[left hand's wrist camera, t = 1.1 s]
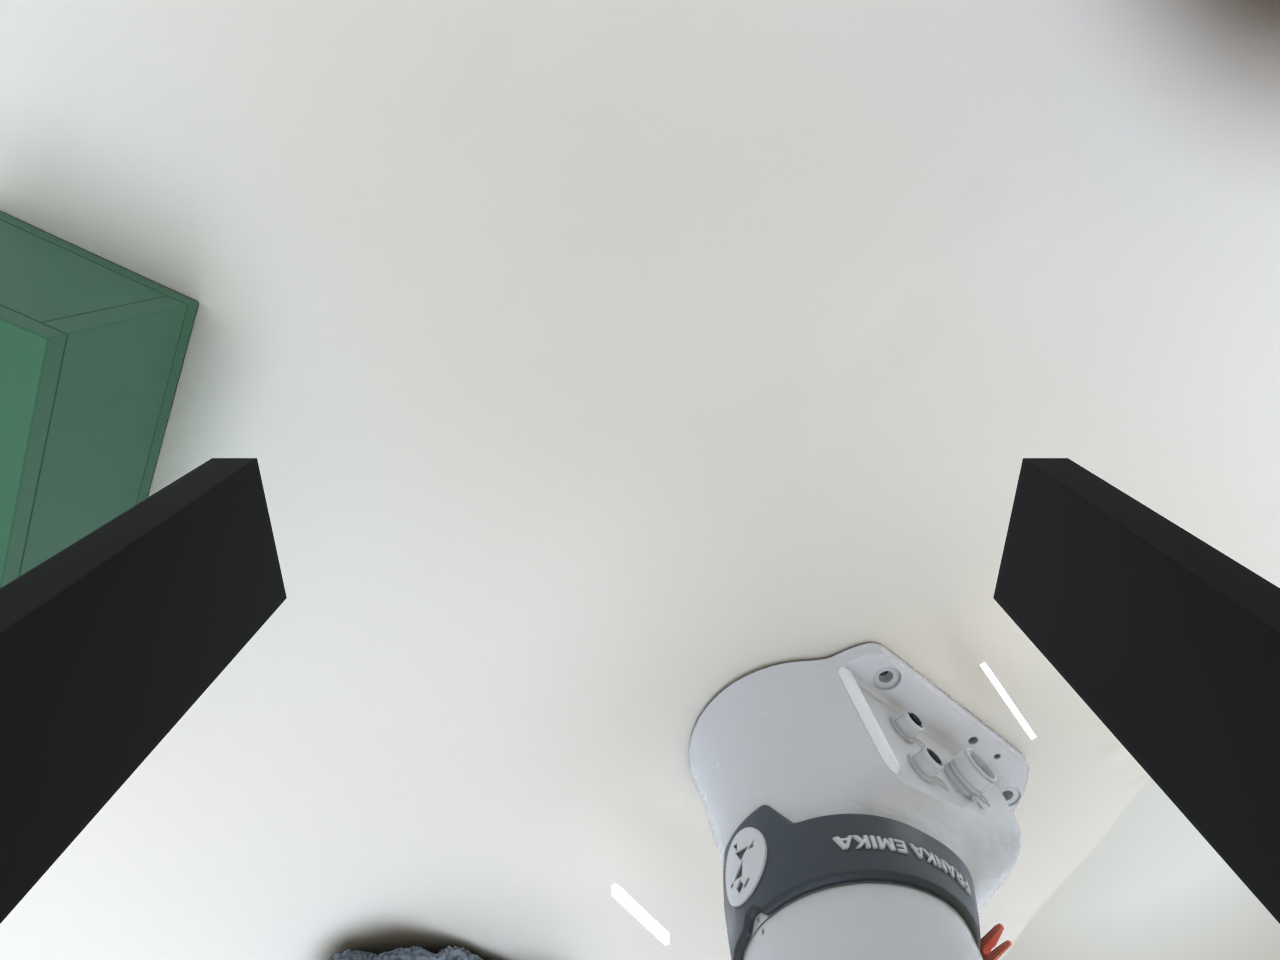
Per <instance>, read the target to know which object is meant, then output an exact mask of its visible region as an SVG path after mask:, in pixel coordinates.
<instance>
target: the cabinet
mask: <svg viewBox="0 0 1280 960" xmlns="http://www.w3.org/2000/svg"><path fill="white" fill-rule="evenodd" d="M197 307H198V302H197V301H195V300H192V299H190V298H188V297H186V296H184V295H181V294H179V293H177V292H175V291H173V290H171V289H168V288H166V287H164V286H162V285H160V284H157V283H155V282H153V281H151V280H149V279H147V278H144V277H142V276H140V275H138V274H136V273H134V272H131V271H129V270H127V269H125V268H123V267H120V266H118V265H116V264H114V263H112V262H110V261H107V260H105V259H103V258H101V257H99V256H96V255H94V254H92V253H90V252H88V251H86V250H83V249H81V248H79V247H77V246H75V245H72V244H70V243H68V242H66V241H64V240H62V239H59V238H57V237H55V236H53V235H51V234H48V233H46V232H44V231H42V230H40V229H38V228H35V227H33V226H31V225H29V224H27V223H24V222H22V221H20V220H18V219H16V218H14V217H11V216H9V215H7V214H5V213H3V212H0V588H2V587H3V586H5V585H7V584H8V583H10V582H12V581H13V580H15V579H16V578H18V577H20V576H21V575H23V574H25V573H26V572H28V571H29V570H31V569H33V568H34V567H36V566H38V565H39V564H41V563H42V562H44V561H46V560H47V559H49V558H51V557H52V556H54V555H56V554H57V553H59V552H60V551H62V550H64V549H65V548H67V547H69V546H70V545H72V544H73V543H75V542H77V541H78V540H80V539H82V538H83V537H85V536H86V535H88V534H90V533H91V532H93V531H95V530H96V529H98V528H100V527H101V526H103V525H104V524H106V523H108V522H109V521H111V520H113V519H114V518H116V517H117V516H119V515H121V514H122V513H124V512H126V511H127V510H129V509H130V508H132V507H134V506H135V505H137V504H139V503H140V502H142V501H144V500H145V499H147V496H148V492H149V489H150V485H151V481H152V477H153V473H154V470H155V466H156V462H157V458H158V455H159V451H160V447H161V443H162V439H163V436H164V432H165V428H166V424H167V420H168V417H169V413H170V409H171V405H172V402H173V398H174V394H175V390H176V386H177V383H178V379H179V375H180V371H181V368H182V364H183V360H184V356H185V352H186V349H187V345H188V341H189V337H190V333H191V330H192V326H193V322H194V318H195V315H196V311H197Z"/></svg>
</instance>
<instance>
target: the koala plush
mask: <svg viewBox="0 0 1280 960" xmlns="http://www.w3.org/2000/svg"><path fill="white" fill-rule="evenodd" d="M328 960H483V959H482V958H480V957H479V956H478V955H475V954H472V953H471V952H470V951H469V950H465V948H464V947H462V948H460V947H457V946H454V947H453V948H452V947H451V946H447V948H444V950H443V949H441V951H439V952H438V954H434V953H431V952H430V951H427V950H425V949H423V948H422V947H418V946H412V947H409V948H408V947H407V948H405V949H404V948H402V947H400V948H396V949H395V950H392V951H389V952H386V951H385V952H383V953H380V954H379V955H378V954H376V953H375V954H374V953H373V952H368V951H367V952H365V951H362V952H361V951H360V950H358V951H356V950H354V951H353V952H352V951H351V949H347V950H345V951H344V952H343V953H334V954H333V956H332V957H331V958H330V959H328Z"/></svg>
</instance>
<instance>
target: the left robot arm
mask: <svg viewBox="0 0 1280 960" xmlns="http://www.w3.org/2000/svg"><path fill="white" fill-rule="evenodd" d="M285 599H286V593H285V588H284V584H283V579H282V574H281V570H280V565H279V560H278V555H277V551H276V546H275V541H274V537H273V532H272V527H271V522H270V518H269V513H268V508H267V504H266V499H265V494H264V490H263V485H262V480H261V475H260V471H259V466H258V461H257V458H212V459H210V460H209V461H207V462H205V463H204V464H202V465H201V466H199V467H197V468H196V469H194V470H192V471H191V472H189V473H188V474H186V475H184V476H183V477H181V478H179V479H178V480H176V481H174V482H173V483H171V484H170V485H168V486H166V487H165V488H163V489H161V490H160V491H158V492H157V493H155V494H153V495H152V496H150V497H148V498H147V499H145V500H144V501H142V502H140V503H139V504H137V505H135V506H134V507H132V508H130V509H129V510H127V511H126V512H124V513H122V514H121V515H119V516H117V517H116V518H114V519H113V520H111V521H109V522H108V523H106V524H104V525H103V526H101V527H100V528H98V529H96V530H95V531H93V532H91V533H90V534H88V535H86V536H85V537H83V538H82V539H80V540H78V541H77V542H75V543H73V544H72V545H70V546H69V547H67V548H65V549H64V550H62V551H60V552H59V553H57V554H56V555H54V556H52V557H51V558H49V559H47V560H46V561H44V562H42V563H41V564H39V565H38V566H36V567H34V568H33V569H31V570H29V571H28V572H26V573H25V574H23V575H21V576H20V577H18V578H16V579H15V580H13V581H12V582H10V583H8V584H7V585H5V586H3V587H2V588H0V923H1V922H2V921H3V920H4V919H5V918H6V917H7V915H8V914H9V913H10V912H11V911H12V910H13V909H14V907H15V906H16V905H17V904H18V903H19V902H20V901H21V899H22V898H23V897H24V896H25V895H26V894H27V893H28V891H29V890H30V889H31V888H32V887H33V886H34V885H35V884H36V882H37V881H38V880H39V879H40V878H41V877H42V876H43V874H44V873H45V872H46V871H47V870H48V869H49V868H50V866H51V865H52V864H53V863H54V862H55V861H56V860H57V858H58V857H59V856H60V855H61V854H62V853H63V852H64V851H65V849H66V848H67V847H68V846H69V845H70V844H71V843H72V841H73V840H74V839H75V838H76V837H77V836H78V835H79V833H80V832H81V831H82V830H83V829H84V828H85V827H86V826H87V824H88V823H89V822H90V821H91V820H92V819H93V818H94V816H95V815H96V814H97V813H98V812H99V811H100V810H101V808H102V807H103V806H104V805H105V804H106V803H107V802H108V800H109V799H110V798H111V797H112V796H113V795H114V794H115V793H116V791H117V790H118V789H119V788H120V787H121V786H122V785H123V783H124V782H125V781H126V780H127V779H128V778H129V777H130V775H131V774H132V773H133V772H134V771H135V770H136V769H137V767H138V766H139V765H140V764H141V763H142V762H143V761H144V760H145V758H146V757H147V756H148V755H149V754H150V753H151V752H152V750H153V749H154V748H155V747H156V746H157V745H158V744H159V742H160V741H161V740H162V739H163V738H164V737H165V736H166V734H167V733H168V732H169V731H170V730H171V729H172V728H173V727H174V725H175V724H176V723H177V722H178V721H179V720H180V719H181V717H182V716H183V715H184V714H185V713H186V712H187V711H188V709H189V708H190V707H191V706H192V705H193V704H194V703H195V702H196V700H197V699H198V698H199V697H200V696H201V695H202V694H203V692H204V691H205V690H206V689H207V688H208V687H209V686H210V684H211V683H212V682H213V681H214V680H215V679H216V678H217V676H218V675H219V674H220V673H221V672H222V671H223V670H224V669H225V667H226V666H227V665H228V664H229V663H230V662H231V661H232V659H233V658H234V657H235V656H236V655H237V654H238V653H239V651H240V650H241V649H242V648H243V647H244V646H245V645H246V643H247V642H248V641H249V640H250V639H251V638H252V637H253V636H254V634H255V633H256V632H257V631H258V630H259V629H260V628H261V626H262V625H263V624H264V623H265V622H266V621H267V620H268V618H269V617H270V616H271V615H272V614H273V613H274V612H275V611H276V609H277V608H278V607H279V606H280V605H281V604H282V603H283V601H284V600H285ZM994 599H995V600H996V601H997V603H998V604H999V605H1000V606H1001V607H1002V608H1003V609H1004V611H1005V612H1006V613H1007V614H1008V615H1009V616H1010V617H1011V618H1012V620H1013V621H1014V622H1015V623H1016V624H1017V625H1018V626H1019V628H1020V629H1021V630H1022V631H1023V632H1024V633H1025V634H1026V636H1027V637H1028V638H1029V639H1030V640H1031V641H1032V642H1033V643H1034V645H1035V646H1036V647H1037V648H1038V649H1039V650H1040V651H1041V653H1042V654H1043V655H1044V656H1045V657H1046V658H1047V659H1048V661H1049V662H1050V663H1051V664H1052V665H1053V666H1054V667H1055V669H1056V670H1057V671H1058V672H1059V673H1060V674H1061V675H1062V676H1063V678H1064V679H1065V680H1066V681H1067V682H1068V683H1069V684H1070V686H1071V687H1072V688H1073V689H1074V690H1075V691H1076V692H1077V694H1078V695H1079V696H1080V697H1081V698H1082V699H1083V700H1084V702H1085V703H1086V704H1087V705H1088V706H1089V707H1090V708H1091V709H1092V711H1093V712H1094V713H1095V714H1096V715H1097V716H1098V717H1099V719H1100V720H1101V721H1102V722H1103V723H1104V724H1105V725H1106V727H1107V728H1108V729H1109V730H1110V731H1111V732H1112V733H1113V735H1114V736H1115V737H1116V738H1117V739H1118V740H1119V741H1120V742H1121V744H1122V745H1123V746H1124V747H1125V748H1126V749H1127V750H1128V752H1129V753H1130V754H1131V755H1132V756H1133V757H1134V758H1135V760H1136V761H1137V762H1138V763H1139V764H1140V765H1141V766H1142V767H1143V769H1144V770H1145V771H1146V772H1147V773H1148V774H1149V775H1150V777H1151V778H1152V779H1153V780H1154V781H1155V782H1156V783H1157V785H1158V786H1159V787H1160V788H1161V789H1162V790H1163V791H1164V792H1165V794H1166V795H1167V796H1168V797H1169V798H1170V799H1171V800H1172V802H1173V803H1174V804H1175V805H1176V806H1177V807H1178V808H1179V810H1180V811H1181V812H1182V813H1183V814H1184V815H1185V816H1186V817H1187V819H1188V820H1189V821H1190V822H1191V823H1192V824H1193V826H1194V827H1195V828H1196V829H1197V830H1198V831H1199V832H1200V833H1201V835H1202V836H1203V837H1204V838H1205V839H1206V840H1207V841H1208V843H1209V844H1210V845H1211V846H1212V847H1213V848H1214V849H1215V850H1216V852H1217V853H1218V854H1219V855H1220V856H1221V857H1222V858H1223V860H1224V861H1225V862H1226V863H1227V864H1228V865H1229V866H1230V868H1231V869H1232V870H1233V871H1234V872H1235V873H1236V874H1237V876H1238V877H1239V878H1240V879H1241V880H1242V881H1243V882H1244V884H1245V885H1246V886H1247V887H1248V888H1249V889H1250V890H1251V891H1252V893H1253V894H1254V895H1255V896H1256V897H1257V898H1258V899H1259V901H1260V902H1261V903H1262V904H1263V905H1264V906H1265V907H1266V909H1267V910H1268V911H1269V912H1270V913H1271V914H1272V915H1273V916H1274V918H1275V919H1276V920H1277V921H1278V922H1279V923H1280V588H1278V587H1277V586H1275V585H1273V584H1272V583H1270V582H1268V581H1267V580H1265V579H1264V578H1262V577H1260V576H1259V575H1257V574H1255V573H1254V572H1252V571H1251V570H1249V569H1247V568H1246V567H1244V566H1242V565H1241V564H1239V563H1238V562H1236V561H1234V560H1233V559H1231V558H1229V557H1228V556H1226V555H1224V554H1223V553H1221V552H1220V551H1218V550H1216V549H1215V548H1213V547H1211V546H1210V545H1208V544H1207V543H1205V542H1203V541H1202V540H1200V539H1198V538H1197V537H1195V536H1194V535H1192V534H1190V533H1189V532H1187V531H1185V530H1184V529H1182V528H1180V527H1179V526H1177V525H1176V524H1174V523H1172V522H1171V521H1169V520H1167V519H1166V518H1164V517H1163V516H1161V515H1159V514H1158V513H1156V512H1154V511H1153V510H1151V509H1150V508H1148V507H1146V506H1145V505H1143V504H1141V503H1140V502H1138V501H1136V500H1135V499H1133V498H1132V497H1130V496H1128V495H1127V494H1125V493H1123V492H1122V491H1120V490H1119V489H1117V488H1115V487H1114V486H1112V485H1110V484H1109V483H1107V482H1106V481H1104V480H1102V479H1101V478H1099V477H1097V476H1096V475H1094V474H1092V473H1091V472H1089V471H1088V470H1086V469H1084V468H1083V467H1081V466H1079V465H1078V464H1076V463H1075V462H1073V461H1071V460H1070V459H1068V458H1023V461H1022V466H1021V471H1020V475H1019V480H1018V485H1017V489H1016V494H1015V499H1014V504H1013V508H1012V513H1011V518H1010V522H1009V527H1008V532H1007V537H1006V541H1005V546H1004V551H1003V555H1002V560H1001V565H1000V570H999V574H998V579H997V584H996V588H995V593H994Z"/></svg>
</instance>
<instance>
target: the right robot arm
mask: <svg viewBox="0 0 1280 960" xmlns="http://www.w3.org/2000/svg"><path fill="white" fill-rule="evenodd" d="M980 666H981V667H982V669H983V670H984V672H985V673H986V675H987V676H988V677H989V679H990V680H991V682H992V683H993V685H994V686H995V688H996V689H997V691H998V692H999V693H1000V695H1001V696H1002V698H1003V699H1004V701H1005V702H1006V704H1007V705H1008V707H1009V708H1010V709H1011V711H1012V712H1013V714H1014V715H1015V717H1016V718H1017V720H1018V721H1019V722H1020V724H1021V725H1022V727H1023V728H1024V730H1025V731H1026V732H1027V734H1028V735H1029V737H1030V738H1031V739H1033V738H1035V737H1036V736H1035V734H1034V733H1033V731H1032V730H1031V728H1030V727H1029V725H1028V724H1027V722H1026V721H1025V719H1024V718H1023V717H1022V715H1021V714H1020V712H1019V711H1018V709H1017V708H1016V706H1015V705H1014V703H1013V702H1012V700H1011V699H1010V698H1009V696H1008V695H1007V693H1006V692H1005V690H1004V689H1003V687H1002V686H1001V684H1000V683H999V681H998V680H997V679H996V677H995V676H994V674H993V673H992V671H991V670H990V669H989V667H988V666H987V665H986V663H985V662H984V663H983V664H981V665H980ZM884 671H888V673H887V674H885V675H880V674H881V673H882V672H884ZM689 766H690V770H691V774H692V777H693V780H694V782H695V784H696V786H697V789H698V791H699V793H700V795H701V798H702V800H703V802H704V805H705V808H706V810H707V813H708V816H709V819H710V822H711V825H712V828H713V834H714V838H715V842H716V845H717V847H718V849H719V853H720V857H721V861H722V864H723V884H724V908H725V916H726V924H727V932H728V940H729V946H730V953H731V959H732V960H997V959H998V958H999V957H1000V956H1001V955H1002V954H1003V953H1004V952H1005V951H1006V950H1007V949H1008V948H1009V947H1010V946H1011V941H1008V940H1007V941H1005V942H1004V943H1002V944H1001V945H999V946H998V947H997V948H995V949H994V950H993V951H991V949H992V948H993V947H994V946H995V945H996V944H997V942H998V940H999V937H1000V935H1001V933H1002V931H1003V929H1004V927H1003V926H1002V925H1001V924H997V925H996V926H994V927H993V928H992V929H991V930H990V931H989V932H988V933H987V934H986V935H985V936H984V937H983V938H982V939H981V940H980V927H979V917H978V910H979V909H980V908H981V907H982V906H983V905H984V904H985V903H986V902H987V901H988V900H989V899H990V898H991V896H992V895H993V894H994V893H995V892H996V891H997V890H998V889H999V887H1000V886H1001V885H1002V884H1003V882H1004V881H1005V879H1006V878H1007V877H1008V875H1009V874H1010V872H1011V870H1012V868H1013V867H1014V865H1015V863H1016V860H1017V858H1018V855H1019V851H1020V846H1021V834H1020V828H1019V825H1018V823H1017V820H1016V818H1015V816H1014V814H1013V811H1014V810H1015V808H1016V806H1017V805H1018V803H1019V801H1020V799H1021V797H1022V795H1023V792H1024V789H1025V787H1026V783H1027V778H1028V771H1029V769H1028V765H1027V763H1026V761H1025V759H1024V757H1023V756H1022V755H1021V754H1020V753H1019V751H1017V750H1016V749H1015V748H1014V747H1012V746H1011V745H1010V744H1009V743H1007V742H1006V741H1005V740H1004V739H1002V738H1001V737H1000V736H998V735H997V734H996V733H995V732H993V731H992V730H991V729H989V728H988V727H987V726H986V725H984V724H983V723H982V722H980V721H979V720H978V719H977V718H975V717H974V716H973V715H971V714H970V713H969V712H968V711H966V710H965V709H964V708H962V707H961V706H960V705H959V704H957V703H956V702H955V701H953V700H952V699H951V698H950V697H948V696H947V695H946V694H944V693H943V692H942V691H941V690H939V689H938V688H937V687H935V686H934V685H933V684H932V683H930V682H929V681H928V680H926V679H925V678H924V677H923V676H921V675H920V674H919V673H917V672H916V671H915V670H914V669H912V668H911V667H910V666H908V665H907V664H906V663H905V662H903V661H902V660H901V659H899V658H898V657H897V656H896V655H894V654H893V653H892V652H890V651H889V650H888V649H887V648H885V647H884V646H882V645H880V644H876V643H867V644H862V645H859V646H856V647H853V648H850V649H848V650H846V651H843V652H841V653H839V654H836V655H834V656H832V657H830V658H825V659H820V660H810V661H797V662H789V663H783V664H778V665H774V666H770V667H767V668H764V669H761V670H758V671H756V672H753V673H751V674H749V675H747V676H744V677H743V678H741V679H739V680H737V681H736V682H734V683H733V684H731V685H730V686H728V687H727V688H725V689H724V690H723V691H722V692H721V693H719V694H718V695H717V696H716V697H715V698H714V699H713V700H712V701H711V702H710V703H709V705H708V706H707V707H706V708H705V710H704V711H703V713H702V714H701V716H700V717H699V719H698V721H697V723H696V725H695V727H694V730H693V732H692V735H691V739H690V745H689ZM612 896H613V897H614V898H615V899H616V900H617V901H618V902H619V903H620V904H622V905H623V906H624V907H625V908H626V909H627V910H628V911H629V912H630V913H631V914H632V915H633V916H634V917H635V918H637V919H638V920H639V921H640V922H641V923H642V924H643V925H644V926H645V927H646V928H647V929H648V930H649V931H651V932H652V933H653V934H654V935H655V936H656V937H657V938H658V939H659V940H660V941H661V942H662V943H663V944H664V945H668V944H670V943H669V933H668V932H667V931H666V930H665V929H664V928H663V927H662V926H661V925H660V924H659V923H658V922H657V921H656V920H654V919H653V918H652V917H651V916H650V915H649V914H648V913H647V912H646V911H645V910H644V909H643V908H642V907H641V906H640V905H639V904H638V903H636V902H635V901H634V900H633V899H632V898H631V897H630V896H629V895H628V894H627V893H626V892H625V891H624V890H623V889H622V888H621V887H619V886H618V885H617V884H614V885H612Z"/></svg>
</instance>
